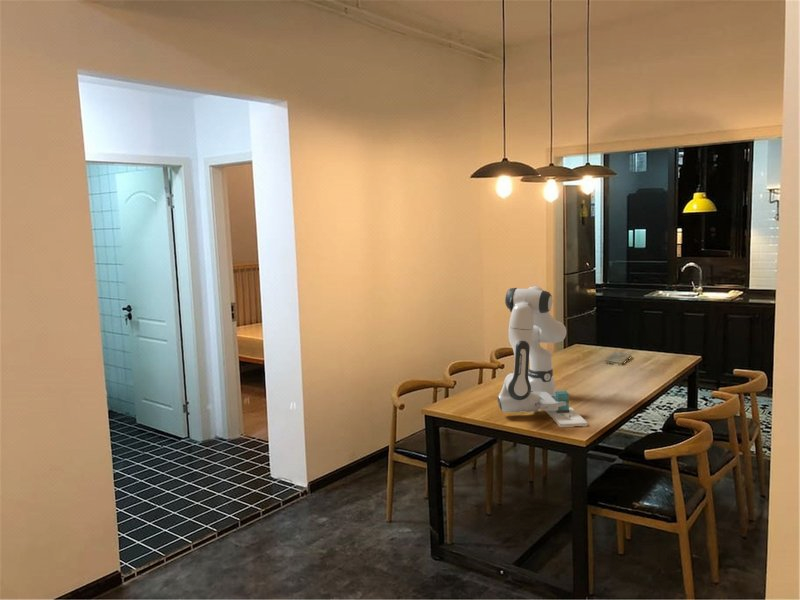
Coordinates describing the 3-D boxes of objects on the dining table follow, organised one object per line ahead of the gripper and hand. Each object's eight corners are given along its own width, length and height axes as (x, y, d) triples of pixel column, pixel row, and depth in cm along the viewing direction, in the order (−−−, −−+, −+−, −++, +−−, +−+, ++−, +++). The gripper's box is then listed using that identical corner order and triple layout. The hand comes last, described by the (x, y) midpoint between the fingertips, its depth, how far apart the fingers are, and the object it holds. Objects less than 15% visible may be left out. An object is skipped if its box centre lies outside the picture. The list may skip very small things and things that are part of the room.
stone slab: (633, 352, 415) (623, 359, 389) (632, 358, 415) (623, 366, 389) (613, 350, 421) (602, 357, 395) (613, 357, 421) (602, 364, 396)
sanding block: (554, 409, 298) (554, 390, 297) (566, 409, 298) (565, 390, 297) (557, 412, 292) (557, 393, 291) (569, 412, 292) (569, 393, 291)
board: (546, 411, 300) (546, 408, 300) (571, 410, 300) (571, 407, 300) (560, 427, 276) (560, 424, 276) (587, 426, 276) (587, 422, 276)
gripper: (538, 401, 284) (569, 399, 284) (528, 389, 304) (556, 388, 304) (538, 415, 284) (569, 413, 284) (528, 402, 305) (557, 401, 305)
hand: (562, 400), depth 294 cm, fingers open, 8 cm apart
